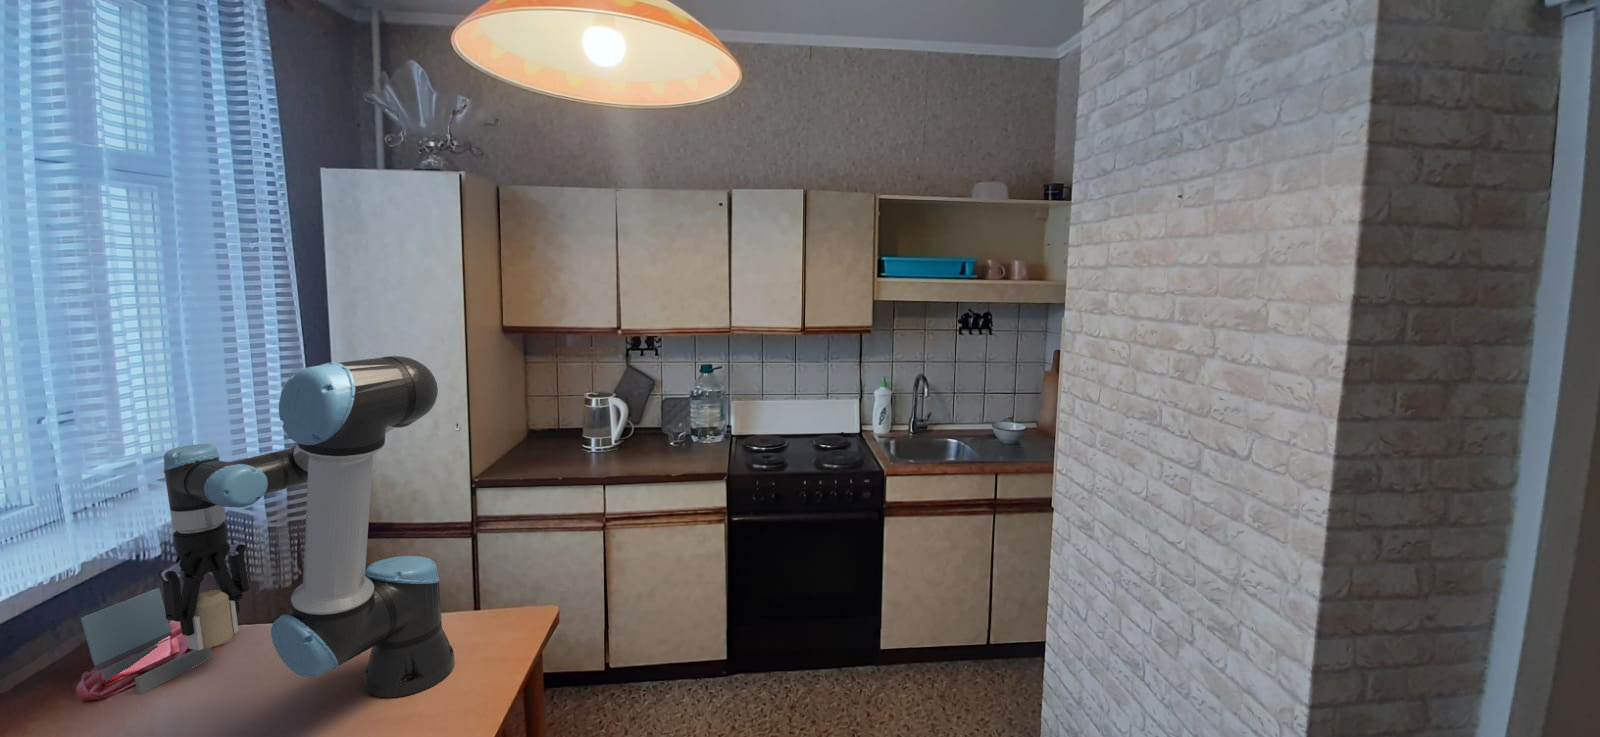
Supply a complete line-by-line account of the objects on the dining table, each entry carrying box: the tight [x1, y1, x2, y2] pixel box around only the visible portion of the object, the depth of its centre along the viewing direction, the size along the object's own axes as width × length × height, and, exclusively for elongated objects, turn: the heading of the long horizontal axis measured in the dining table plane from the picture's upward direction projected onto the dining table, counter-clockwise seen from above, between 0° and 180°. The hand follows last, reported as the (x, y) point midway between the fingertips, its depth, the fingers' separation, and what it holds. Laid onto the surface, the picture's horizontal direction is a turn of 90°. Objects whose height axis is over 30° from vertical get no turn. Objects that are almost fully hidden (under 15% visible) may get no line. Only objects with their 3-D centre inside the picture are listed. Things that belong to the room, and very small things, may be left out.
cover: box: [80, 587, 174, 672], centre depth 129 cm, size 11×12×1 cm
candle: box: [194, 589, 234, 649], centre depth 127 cm, size 6×6×10 cm
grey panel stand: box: [99, 644, 213, 695], centre depth 128 cm, size 10×12×3 cm
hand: (214, 639), depth 128 cm, fingers closed on candle, 5 cm apart
